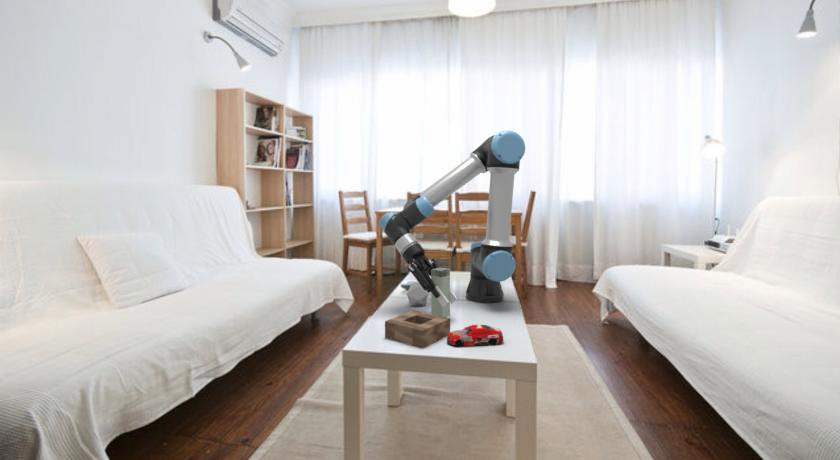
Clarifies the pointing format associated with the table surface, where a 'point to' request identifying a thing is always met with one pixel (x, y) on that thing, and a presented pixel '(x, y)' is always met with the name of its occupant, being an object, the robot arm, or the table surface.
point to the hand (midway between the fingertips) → (450, 302)
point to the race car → (475, 336)
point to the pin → (443, 282)
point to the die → (417, 295)
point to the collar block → (417, 328)
